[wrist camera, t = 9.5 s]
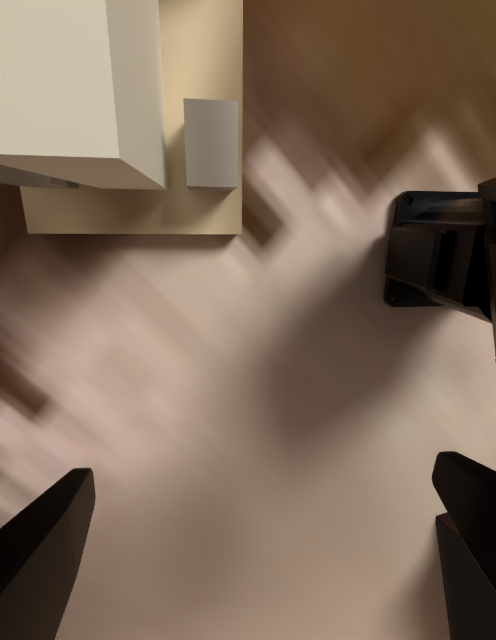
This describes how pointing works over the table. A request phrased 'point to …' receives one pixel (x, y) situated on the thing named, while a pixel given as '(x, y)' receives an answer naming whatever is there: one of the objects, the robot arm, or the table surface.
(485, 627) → the barrier
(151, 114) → the cabinet door panel
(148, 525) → the table surface
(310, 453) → the table surface
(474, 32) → the table surface
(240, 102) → the hinge clip plate
